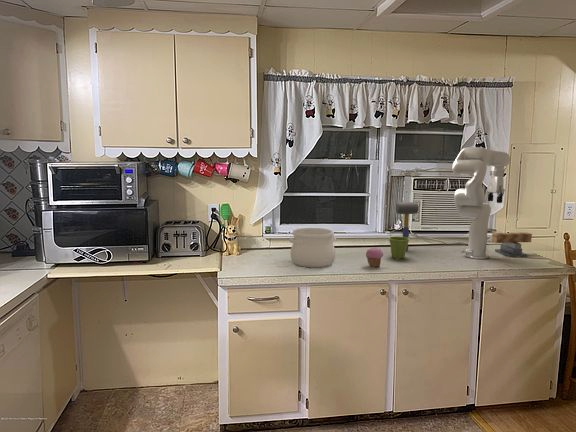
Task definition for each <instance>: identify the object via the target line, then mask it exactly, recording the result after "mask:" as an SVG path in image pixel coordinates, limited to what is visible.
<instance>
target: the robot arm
mask: <svg viewBox="0 0 576 432" xmlns="http://www.w3.org/2000/svg"><path fill="white" fill-rule="evenodd" d="M510 163H511V156H510V154H509V153H507V152H504V151H498V150H491V149H488V148H485V147H482V146H481V147H480V146H474V147H472V146H469V147H468V146H467V147H464V148H462V149H461V150H460V152H459V153H458V154H457V157H456V158H455V160H454V161H453V163H452V172H453V175H455V176H467V177H469V176H471V178H469V179H468V180H467V182H466V183H465V185H464V188H463V187H461V188H458V189H456V190H455V192H454V195H453V200H454V205H455V208H456V211H457V214H458V216H459V217H460V218H465V219H474V220H473V221H472V222H471V223H470V225H469V231H468V232H469V233H468V245H467V247H466V248H465V249H460V250H459V254H464V256H465V257H467V258H471V259H475V260H476V259H477V260H485V259H489V258H490V257H489V255H488V254H487V253H486V252H487V244H488V243H487V242H488V241H487V240H488V230H489V229H488V228H489V220H490V216H491V212H492V207H491V205H490V204H489V203H487V202H493V201H494V194H497V196H496V203H497V204H502V203H503V197H504V194H505V191H506V189H505V188H504V185H505V184H504V183H505V182H504V175H505V174H504V172H505V167H508V166H509V164H510ZM488 167H490V170H489V178H488V181H487V187H486V189H487V191H486V192H487V202H485V201H486V197H485V192H484V187H483V183H484V181H485V178H486V174H487V170H488Z"/></svg>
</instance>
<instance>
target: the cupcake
mask: <svg viewBox="0 0 576 432" xmlns="http://www.w3.org/2000/svg"><path fill="white" fill-rule="evenodd" d="M365 257H366V259H367V264H368V265H369V266H370V267H374V268H376V267H380V266H381V261H382V260H381V259H382V258H383V257H384V253H383V250H382V249H381V248H378V247H370V248H368V249H367V250H366V253H365Z"/></svg>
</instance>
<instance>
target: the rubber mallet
mask: <svg viewBox="0 0 576 432" xmlns="http://www.w3.org/2000/svg"><path fill="white" fill-rule="evenodd" d="M395 213H396V214H398V215H404V217H403V218H404V221H403V227H402V237H406V238H409V236H410V228H409V220H410V219H409V218H410V215H415V214H417V213H419V203H418V202H415V201H414V202H413V201H402V202H397V203H396V204H395ZM409 239H410V238H409ZM408 249H409V244H408V245H407V249H406V251H408Z"/></svg>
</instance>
